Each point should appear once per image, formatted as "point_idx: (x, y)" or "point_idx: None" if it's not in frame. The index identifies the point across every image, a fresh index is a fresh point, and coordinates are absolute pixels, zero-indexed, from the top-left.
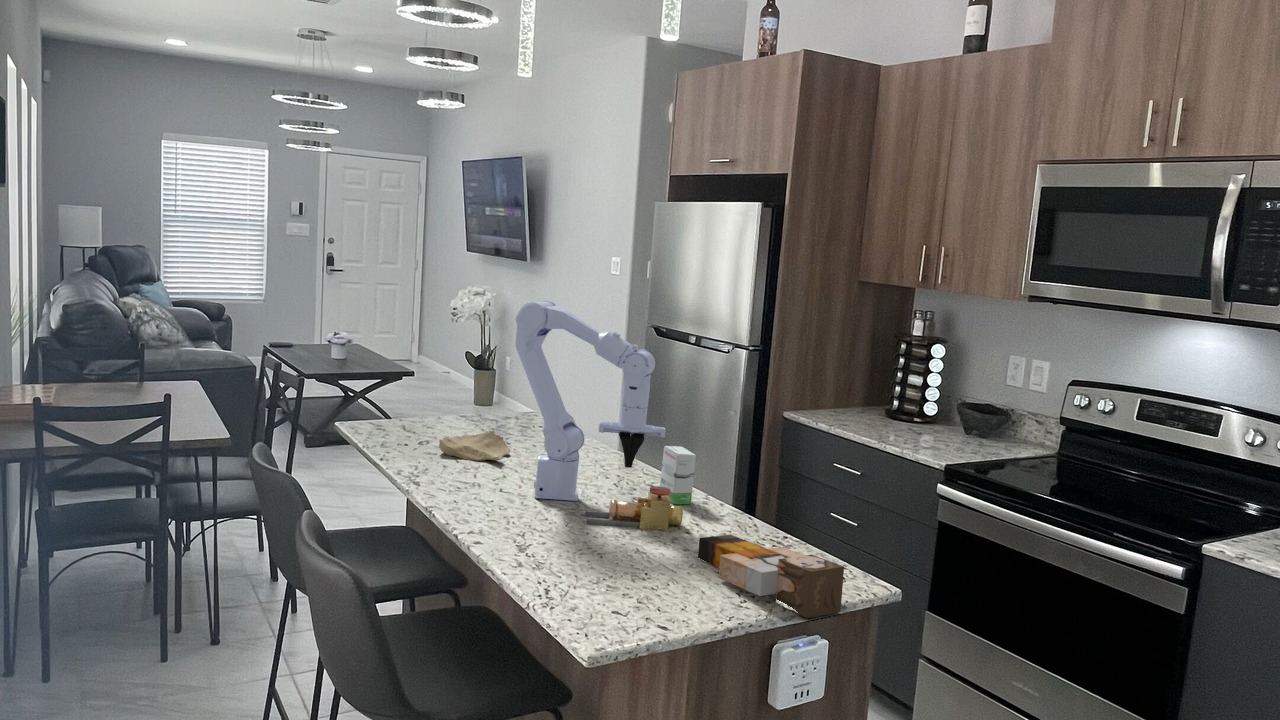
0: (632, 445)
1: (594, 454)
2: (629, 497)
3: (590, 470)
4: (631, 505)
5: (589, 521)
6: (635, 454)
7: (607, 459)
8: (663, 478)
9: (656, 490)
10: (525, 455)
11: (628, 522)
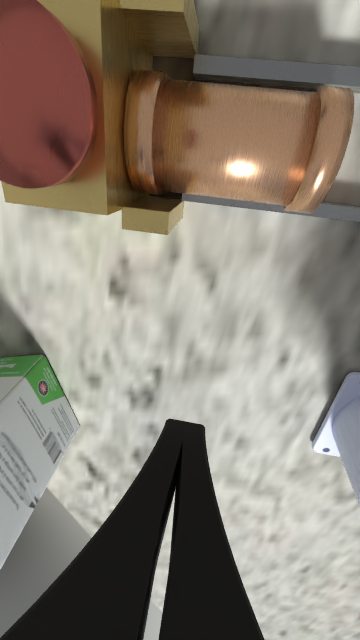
0: (141, 614)
1: None
2: (161, 405)
3: None
4: (229, 107)
5: None
6: (126, 498)
7: (163, 580)
8: (47, 454)
9: (36, 41)
10: (325, 610)
11: (251, 58)
